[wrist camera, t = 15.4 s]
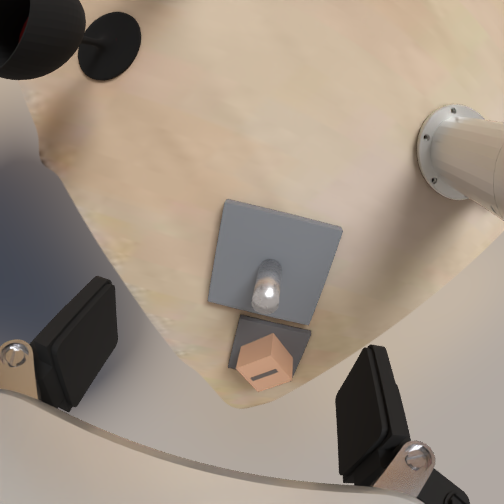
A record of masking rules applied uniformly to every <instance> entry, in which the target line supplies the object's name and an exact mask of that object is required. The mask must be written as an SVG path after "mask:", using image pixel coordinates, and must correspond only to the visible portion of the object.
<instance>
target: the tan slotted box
mask: <svg viewBox="0 0 504 504" xmlns="http://www.w3.org/2000/svg"><path fill="white" fill-rule="evenodd" d="M236 369H237V370H238V371H239V373H240V374H241V375H242V376H243V377H244V378H245V379H246V380H247V381H248V382H249V383H250V384H251V385H252V386H253V387H254V388H255V389H256V390H257V391H258V392H260V391H263V390H266V389H269V388H272V387H275V386H278V385H281V384H283V383H286V382H289V381H292V370H293V357H292V356H291V355H290V353H289V352H288V351H287V350H286V348H285V347H284V346H283V344H282V343H281V342H280V341H279V339H278V338H277V337H276V336H275V334H274V333H272V334H270V335H267V336H265V337H263V338H260V339H258V340H256V341H253V342H251V343H248V344H246V345H244V346H241V349H240V353H239V357H238V361H237V366H236Z"/></svg>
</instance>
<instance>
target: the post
mask: <svg viewBox="0 0 504 504" xmlns="http://www.w3.org/2000/svg"><path fill="white" fill-rule="evenodd" d="M281 276H282V266H281V264H280V263H279V262H278V261H276V260H274V259H267V260H264V261H263V262H262V263H261V264H260V266H259V271H258V275H257V279H256V284H255V288H254V292H253V297H252V301H251V303H252V307H253V309H254V310H255V311H257V312H258V313H260V314H271V313H273V312H275V311H276V310H277V308H278V306H279V296H280V286H281Z"/></svg>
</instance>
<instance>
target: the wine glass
mask: <svg viewBox="0 0 504 504" xmlns="http://www.w3.org/2000/svg"><path fill="white" fill-rule="evenodd" d="M85 26H86V19H85V13H84V10H83V7H82V5H81V3H80V1H79V0H0V77H1V78H6V79H11V80H27V79H34V78H38V77H41V76H44V75H47V74H49V73H51V72H53V71H55V70H56V69H58V68H59V67H61V66H62V65H63V64H64V63H66V62H67V61H68V60H69V59H70V58H71V57H72V56H73V54H74V53H75V52H76V50H77V49H78V47H79V50H78V59H79V64H80V67H81V69H82V70H83V72H84V73H85V74H86V75H87V76H88V77H90V78H92V79H96V80H108V79H112V78H114V77H116V76H118V75H120V74H121V73H123V72H124V71H125V70H126V69H127V68H128V67H129V66H130V65H131V63H132V62H133V61H134V59H135V57H136V55H137V53H138V51H139V47H140V43H141V32H140V27H139V25H138V23H137V21H136V20H135V19H134V18H133V17H132V16H130V15H128V14H126V13H122V12H112V13H108V14H105V15H103V16H101V17H100V18H98V19H97V20H95V21H94V22H93V23H92V24H91V25H90V26H89V27H88V28H87V30H86V31H85ZM84 32H85V33H84Z"/></svg>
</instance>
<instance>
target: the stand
mask: <svg viewBox="0 0 504 504" xmlns="http://www.w3.org/2000/svg"><path fill="white" fill-rule="evenodd" d="M342 232H343V231H342V228H341V227H339V226H335V225H331V224H327V223H324V222H320V221H316V220H312V219H308V218H304V217H300V216H296V215H292V214H288V213H284V212H280V211H276V210H272V209H268V208H264V207H259V206H255V205H251V204H247V203H242V202H238V201H234V200H229V199H227V200H226V201H225V203H224V209H223V214H222V220H221V225H220V231H219V237H218V242H217V248H216V254H215V260H214V266H213V271H212V277H211V284H210V290H209V296H208V301H209V302H213V303H216V304H220V305H224V306H228V307H232V308H236V309H240V310H244V311H248V312H252V313H257V314H260V313H258V312H257V311H255V310H254V309H253V307H252V303H251V301H252V297H253V292H254V288H255V284H256V279H257V275H258V271H259V266H260V264H261V263H262V262H263V261H264V260H267V259H274V260H276V261H278V262H279V263H280V264H281V266H282V276H281V286H280V296H279V306H278V308H277V310H276V311H275V312H273V313H271V314H261V315H265V316H269V317H274V318H278V319H282V320H287V321H291V322H296V323H300V324H305V325H309V324H310V321H311V318H312V316H313V313H314V311H315V308H316V305H317V303H318V300H319V298H320V295H321V292H322V289H323V287H324V284H325V281H326V279H327V276H328V273H329V270H330V267H331V265H332V262H333V259H334V256H335V253H336V250H337V247H338V244H339V241H340V238H341V235H342Z"/></svg>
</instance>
